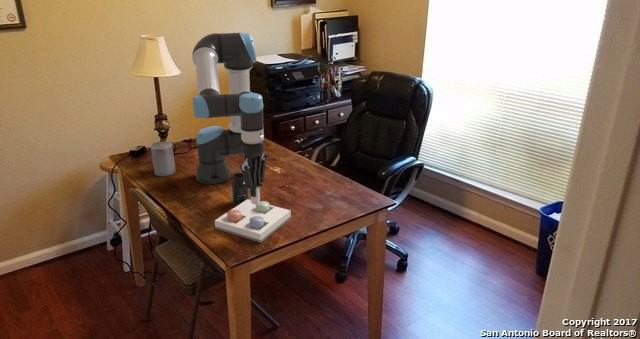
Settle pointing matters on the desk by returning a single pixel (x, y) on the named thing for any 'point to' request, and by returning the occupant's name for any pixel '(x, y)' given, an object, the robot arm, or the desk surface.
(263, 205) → the sage button
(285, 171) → the desk surface
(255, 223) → the slate button
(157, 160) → the pillar candle
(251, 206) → the console
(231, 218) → the terracotta button
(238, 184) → the supplement bottle
